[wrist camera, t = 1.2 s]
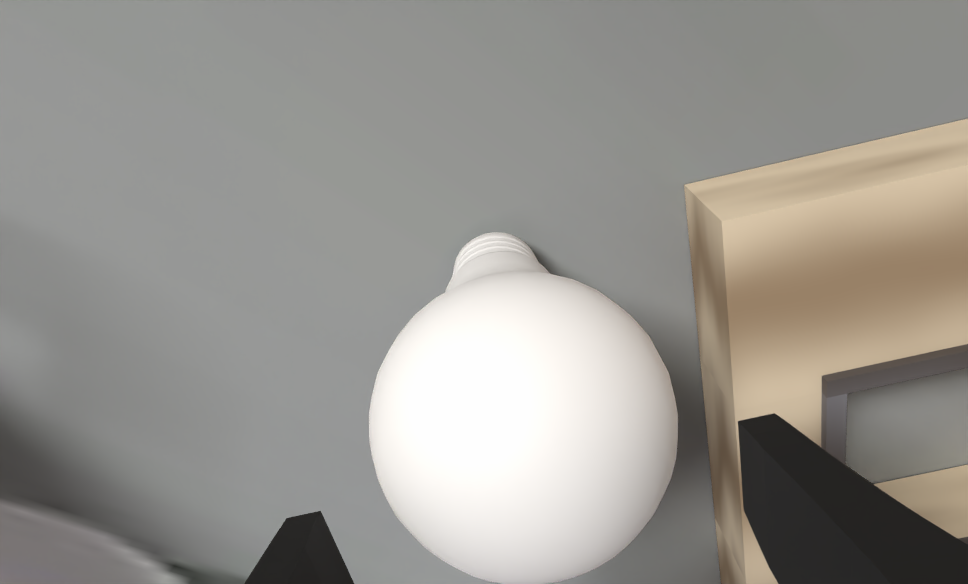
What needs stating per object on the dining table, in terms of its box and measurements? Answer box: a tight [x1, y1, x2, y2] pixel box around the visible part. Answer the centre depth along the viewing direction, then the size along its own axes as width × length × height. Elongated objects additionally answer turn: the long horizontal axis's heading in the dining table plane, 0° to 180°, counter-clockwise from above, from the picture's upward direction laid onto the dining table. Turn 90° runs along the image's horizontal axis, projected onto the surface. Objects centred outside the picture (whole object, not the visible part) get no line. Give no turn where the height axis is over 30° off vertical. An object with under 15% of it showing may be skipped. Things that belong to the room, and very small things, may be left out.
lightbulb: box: [369, 232, 678, 584], centre depth 16 cm, size 6×6×11 cm
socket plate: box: [684, 119, 968, 584], centre depth 23 cm, size 20×14×3 cm
